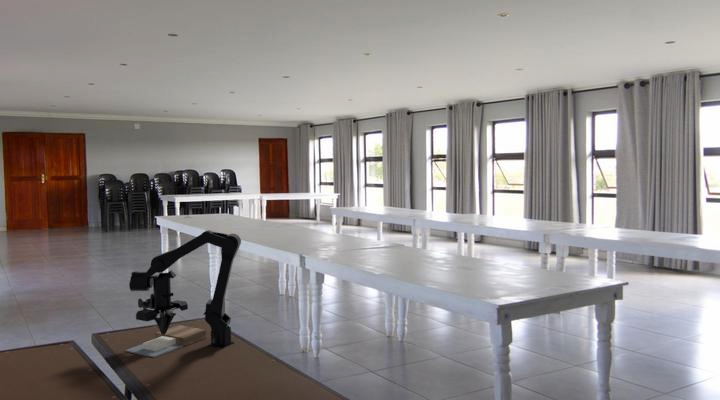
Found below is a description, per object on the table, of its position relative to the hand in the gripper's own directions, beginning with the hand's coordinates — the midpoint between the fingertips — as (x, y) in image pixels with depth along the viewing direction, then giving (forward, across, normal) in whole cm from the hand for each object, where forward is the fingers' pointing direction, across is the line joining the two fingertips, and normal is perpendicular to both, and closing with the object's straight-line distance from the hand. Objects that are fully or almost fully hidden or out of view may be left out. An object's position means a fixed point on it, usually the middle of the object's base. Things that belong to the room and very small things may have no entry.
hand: (163, 334), depth 201 cm
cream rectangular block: (+4, +2, 0) cm, 4 cm away
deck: (+4, -8, 0) cm, 9 cm away
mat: (+4, +4, 0) cm, 6 cm away
